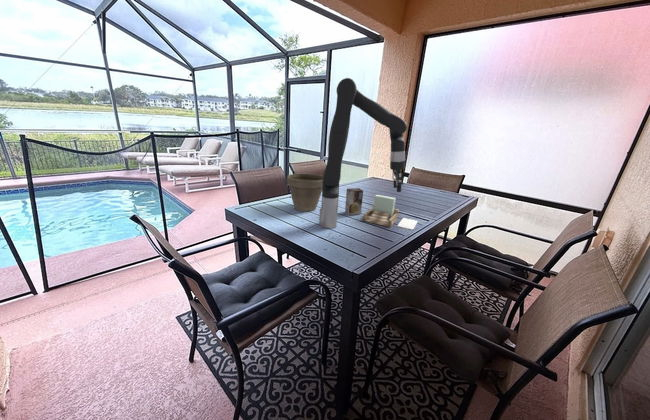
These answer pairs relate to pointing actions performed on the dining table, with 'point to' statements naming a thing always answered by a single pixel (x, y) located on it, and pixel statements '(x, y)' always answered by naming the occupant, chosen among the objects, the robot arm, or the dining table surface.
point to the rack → (389, 223)
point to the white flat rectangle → (407, 223)
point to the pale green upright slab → (384, 204)
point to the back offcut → (381, 214)
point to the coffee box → (354, 201)
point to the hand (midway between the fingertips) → (397, 189)
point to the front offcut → (379, 216)
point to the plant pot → (305, 190)
